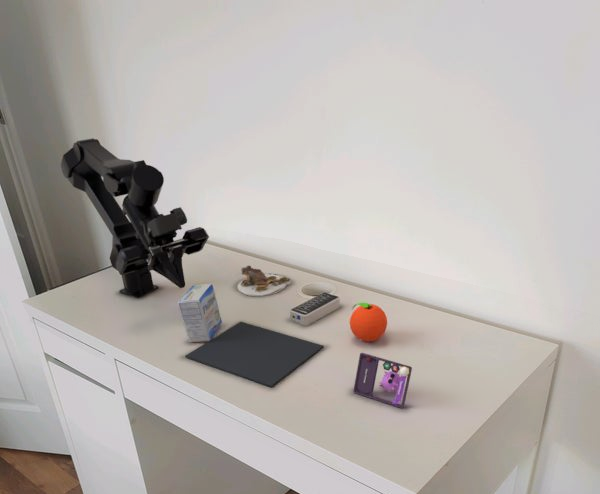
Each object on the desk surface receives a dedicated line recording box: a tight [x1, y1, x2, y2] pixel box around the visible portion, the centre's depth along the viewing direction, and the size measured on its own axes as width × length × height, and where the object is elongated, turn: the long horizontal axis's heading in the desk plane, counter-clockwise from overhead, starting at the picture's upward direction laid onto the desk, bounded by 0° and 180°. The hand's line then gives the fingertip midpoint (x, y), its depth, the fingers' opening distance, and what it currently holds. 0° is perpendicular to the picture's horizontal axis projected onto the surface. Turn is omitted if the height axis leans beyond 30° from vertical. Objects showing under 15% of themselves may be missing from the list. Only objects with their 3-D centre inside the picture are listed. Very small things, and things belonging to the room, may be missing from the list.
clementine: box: [349, 302, 388, 343], centre depth 114 cm, size 8×7×7 cm
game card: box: [352, 352, 413, 409], centre depth 99 cm, size 7×5×9 cm
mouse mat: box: [184, 321, 325, 388], centre depth 113 cm, size 20×16×1 cm
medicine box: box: [177, 283, 223, 343], centre depth 118 cm, size 8×4×9 cm, turn 169°
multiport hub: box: [289, 292, 341, 327], centre depth 125 cm, size 4×11×2 cm, turn 138°
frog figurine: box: [237, 265, 292, 297], centre depth 139 cm, size 12×12×4 cm
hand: (183, 287), depth 121 cm, fingers closed
